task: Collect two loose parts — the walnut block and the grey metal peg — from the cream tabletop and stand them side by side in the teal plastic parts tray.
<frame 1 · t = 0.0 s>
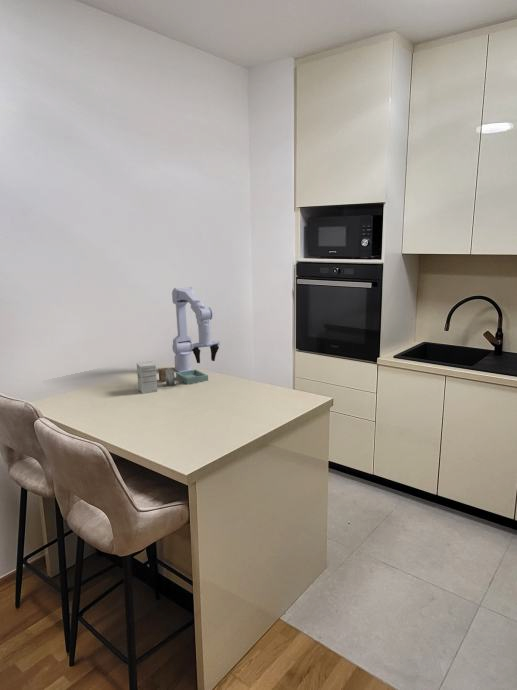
hand: (205, 361, 225), 10 cm above the counter, fingers open, 7 cm apart
grey peg: (170, 384, 224), on the counter
parts tray: (192, 378, 234), on the counter
walnut block: (164, 381, 231), on the counter
supplement box: (147, 391, 216), on the counter
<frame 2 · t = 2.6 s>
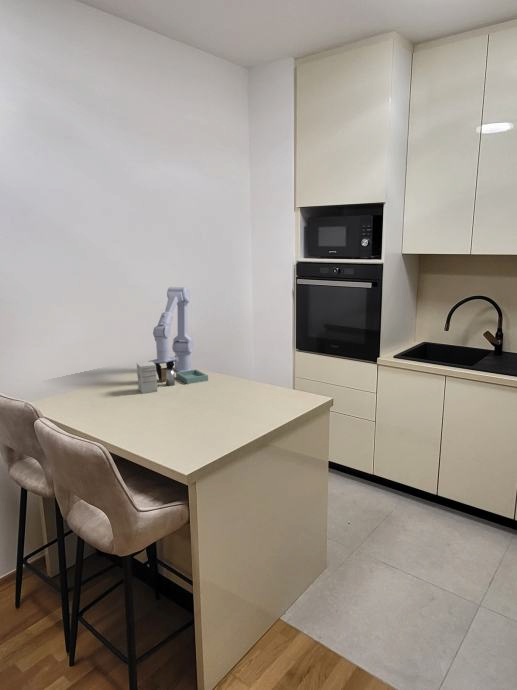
hand: (164, 377, 231), 2 cm above the counter, fingers closed on walnut block, 4 cm apart
walnut block: (164, 380, 231), on the counter, touching gripper
everything else where it was.
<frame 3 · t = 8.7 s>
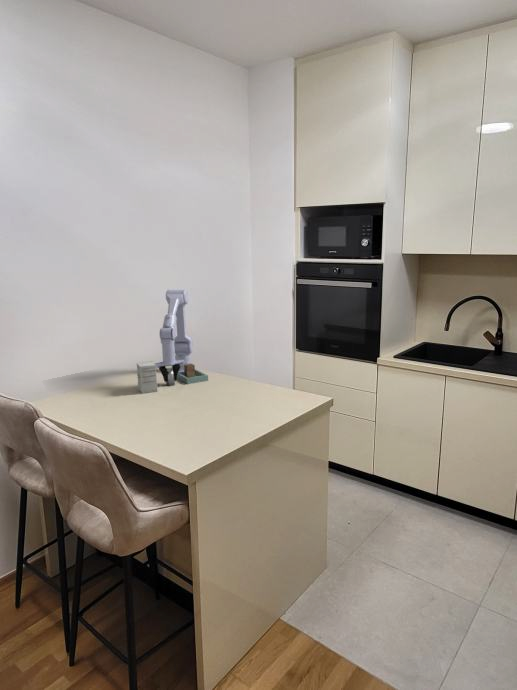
hand: (170, 380, 224), 2 cm above the counter, fingers closed on grey peg, 4 cm apart
grey peg: (170, 384, 224), on the counter, touching gripper
walnut block: (189, 376, 236), point 1 cm above the counter, touching parts tray
everything else where it was.
when the fingers open (4 cm above the counter, at t = 11.5 s): grey peg stays where it is, resting on parts tray.
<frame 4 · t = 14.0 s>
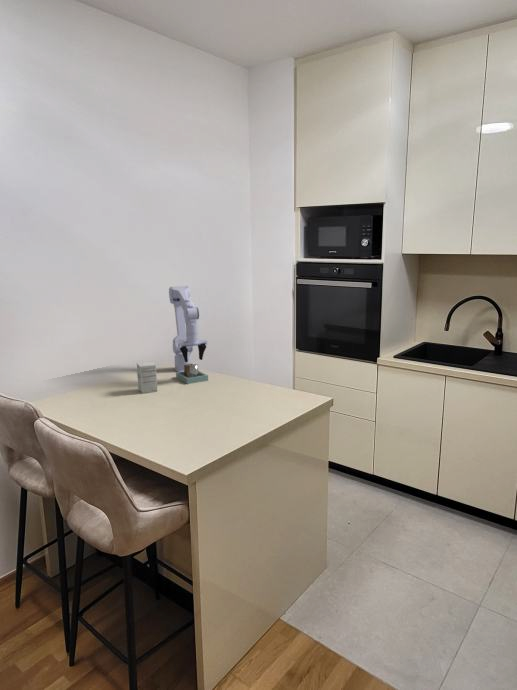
hand: (193, 360, 229), 10 cm above the counter, fingers open, 7 cm apart
grey peg: (194, 379, 231), point 1 cm above the counter, touching parts tray
everything else where it was.
at the end: walnut block inside the target area on the parts tray (2.7 cm from its centre), point 0.6 cm above the parts tray's base; grey peg inside the target area on the parts tray (3.1 cm from its centre), point 0.6 cm above the parts tray's base; the gripper is holding nothing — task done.
